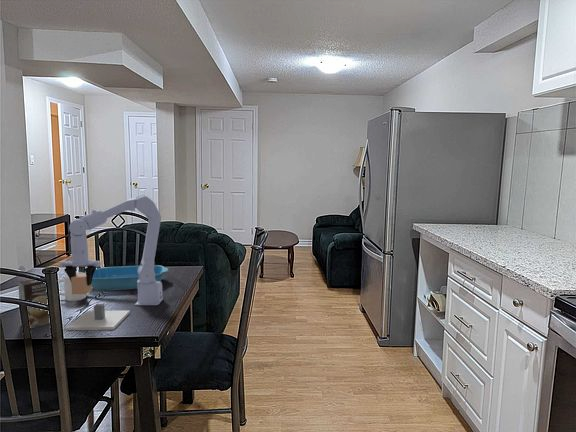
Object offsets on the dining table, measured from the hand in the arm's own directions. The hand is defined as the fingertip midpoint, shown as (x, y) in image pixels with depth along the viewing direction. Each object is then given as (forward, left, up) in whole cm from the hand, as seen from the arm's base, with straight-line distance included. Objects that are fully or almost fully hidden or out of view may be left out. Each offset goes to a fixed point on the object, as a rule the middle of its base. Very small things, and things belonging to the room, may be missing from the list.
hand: (81, 284), depth 159 cm
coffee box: (+10, +13, -11) cm, 20 cm away
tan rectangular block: (0, 0, -3) cm, 3 cm away
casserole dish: (-5, -35, -11) cm, 37 cm away
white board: (-11, +11, -10) cm, 19 cm away
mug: (+12, -15, -11) cm, 22 cm away
